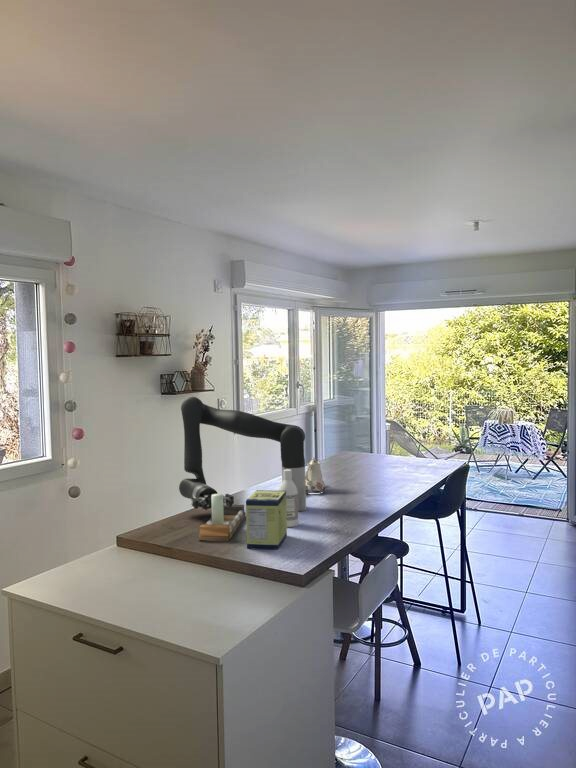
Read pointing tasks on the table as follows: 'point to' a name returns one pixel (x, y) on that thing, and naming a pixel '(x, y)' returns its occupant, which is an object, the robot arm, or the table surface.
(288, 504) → the bath foam
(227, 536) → the rail
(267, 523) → the protein box
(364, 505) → the table surface
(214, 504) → the keeper
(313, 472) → the chinaware
